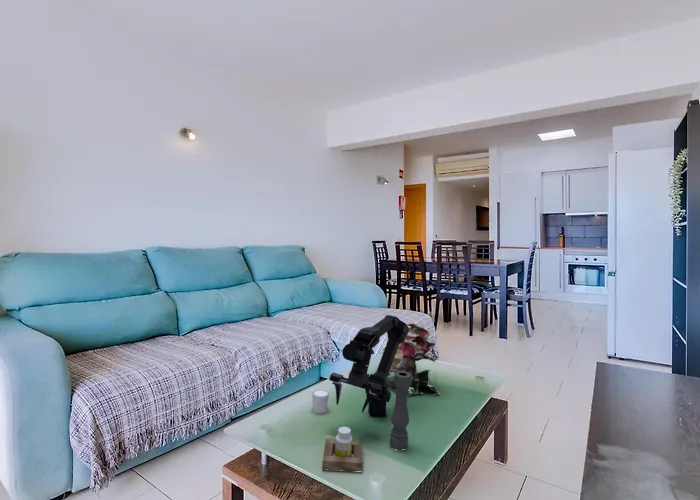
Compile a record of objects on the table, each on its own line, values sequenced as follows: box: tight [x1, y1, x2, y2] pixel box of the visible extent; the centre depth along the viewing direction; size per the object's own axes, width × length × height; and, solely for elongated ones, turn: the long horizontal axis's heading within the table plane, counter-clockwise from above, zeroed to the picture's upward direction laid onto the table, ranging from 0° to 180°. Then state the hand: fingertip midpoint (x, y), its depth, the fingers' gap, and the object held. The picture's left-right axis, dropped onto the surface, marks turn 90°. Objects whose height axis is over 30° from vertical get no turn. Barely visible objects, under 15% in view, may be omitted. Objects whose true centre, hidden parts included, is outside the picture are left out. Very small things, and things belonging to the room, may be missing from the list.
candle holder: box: [389, 371, 411, 450], centre depth 130 cm, size 6×6×25 cm
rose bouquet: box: [382, 322, 449, 397], centre depth 181 cm, size 26×29×30 cm
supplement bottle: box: [334, 426, 353, 457], centre depth 121 cm, size 5×5×10 cm
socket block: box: [321, 438, 363, 472], centre depth 121 cm, size 12×12×3 cm
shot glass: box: [311, 389, 330, 415], centre depth 153 cm, size 7×7×7 cm
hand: (349, 408), depth 135 cm, fingers open, 9 cm apart
